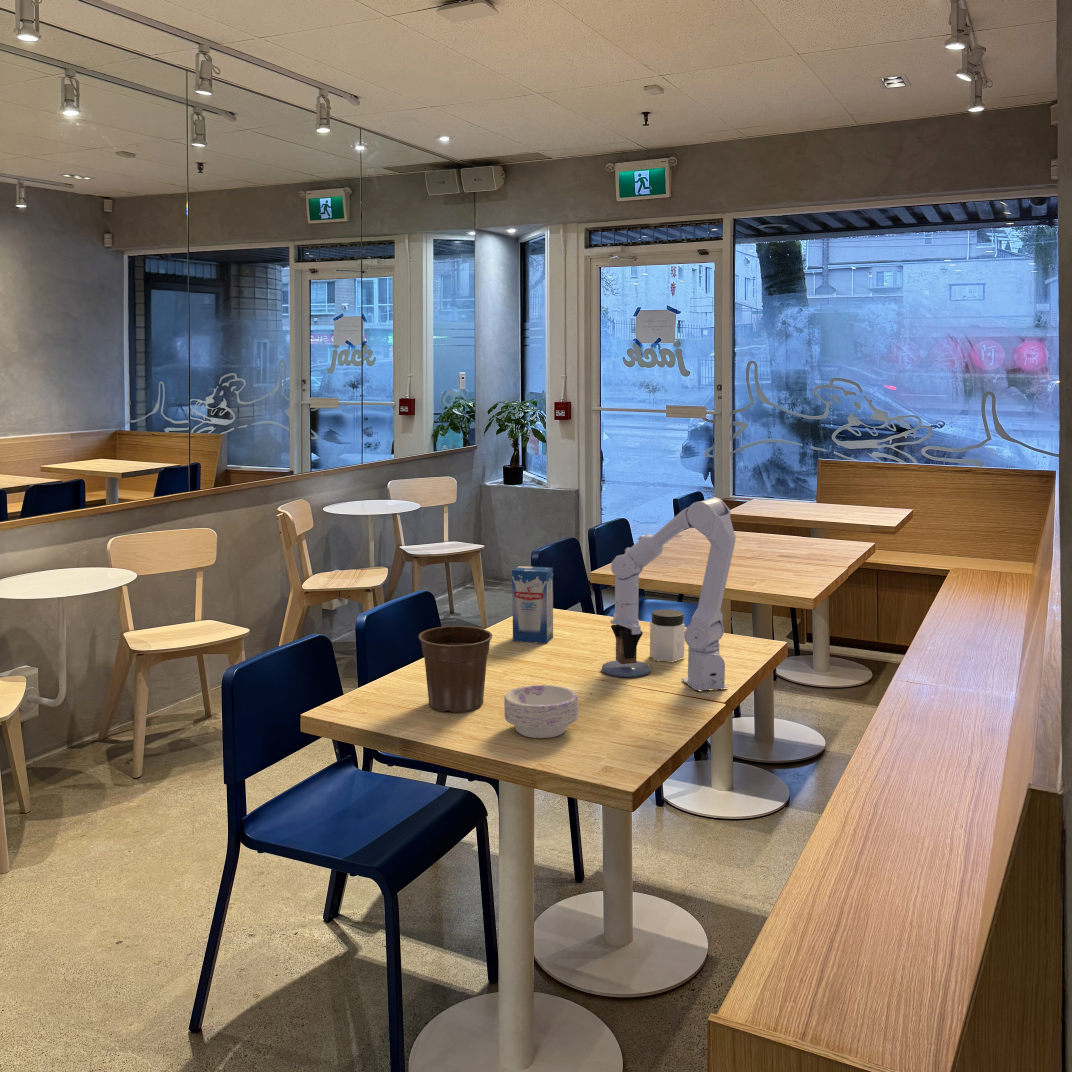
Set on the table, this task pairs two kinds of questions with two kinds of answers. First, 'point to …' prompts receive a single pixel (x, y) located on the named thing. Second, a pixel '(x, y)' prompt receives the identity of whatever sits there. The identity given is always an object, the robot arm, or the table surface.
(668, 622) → the jar
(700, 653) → the robot arm
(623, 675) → the blue-grey round disc
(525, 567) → the milk carton
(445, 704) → the plant pot
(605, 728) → the table surface
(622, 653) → the walnut block
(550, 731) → the paper bowls
